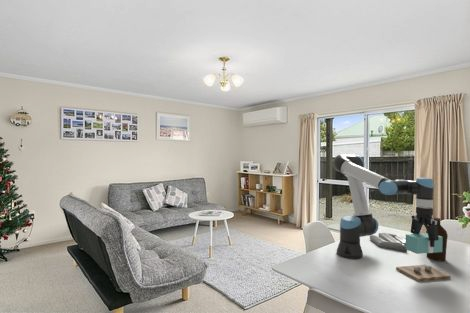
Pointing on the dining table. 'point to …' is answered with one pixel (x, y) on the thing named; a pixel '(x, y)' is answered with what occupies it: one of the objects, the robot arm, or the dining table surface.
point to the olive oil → (442, 255)
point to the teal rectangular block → (422, 243)
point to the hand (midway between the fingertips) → (423, 250)
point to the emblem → (390, 241)
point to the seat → (423, 273)
